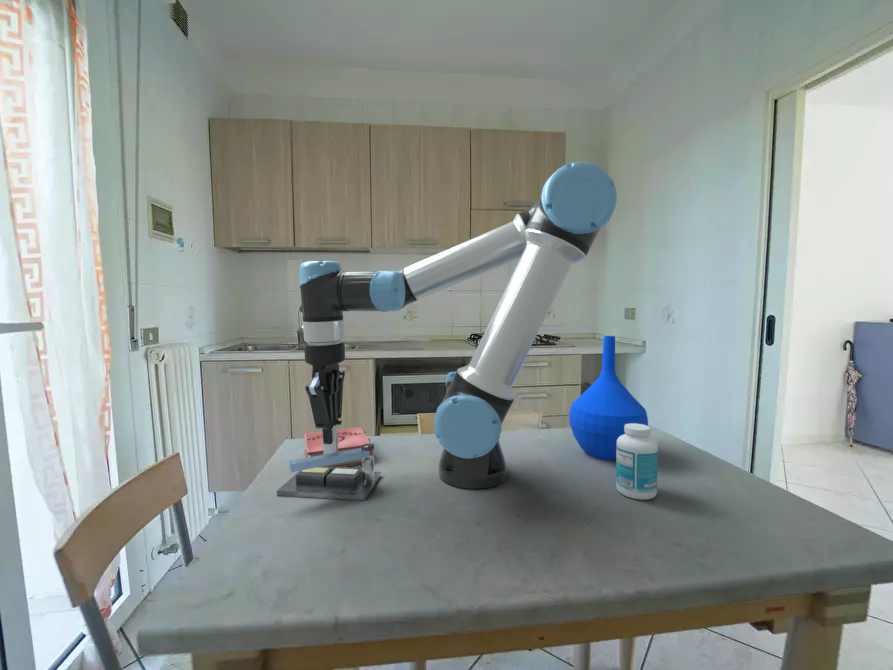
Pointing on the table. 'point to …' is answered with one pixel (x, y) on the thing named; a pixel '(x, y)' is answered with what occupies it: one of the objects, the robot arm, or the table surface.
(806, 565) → the table surface
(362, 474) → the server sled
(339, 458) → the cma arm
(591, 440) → the vase
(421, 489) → the table surface
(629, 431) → the pill bottle
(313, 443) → the book
